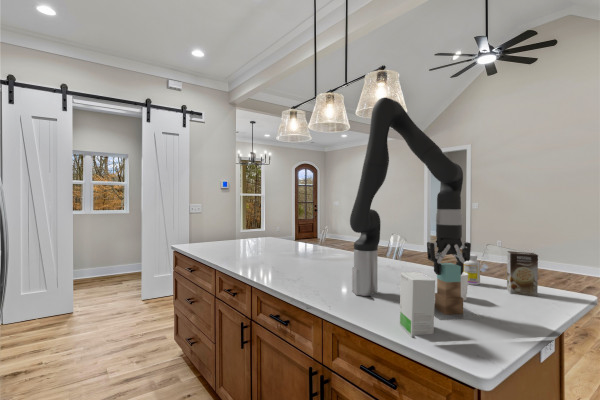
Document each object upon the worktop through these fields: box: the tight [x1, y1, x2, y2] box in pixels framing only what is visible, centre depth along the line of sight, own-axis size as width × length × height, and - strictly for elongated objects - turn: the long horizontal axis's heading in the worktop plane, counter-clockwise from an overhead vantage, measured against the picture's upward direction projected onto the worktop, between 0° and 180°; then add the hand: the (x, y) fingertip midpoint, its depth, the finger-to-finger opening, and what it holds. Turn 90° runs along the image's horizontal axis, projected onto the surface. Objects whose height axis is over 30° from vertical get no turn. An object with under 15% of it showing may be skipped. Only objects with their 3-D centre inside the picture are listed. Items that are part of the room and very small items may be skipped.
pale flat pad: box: [434, 303, 485, 321], centre depth 98 cm, size 14×14×1 cm
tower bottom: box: [434, 292, 464, 315], centre depth 98 cm, size 6×6×5 cm
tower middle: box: [436, 278, 461, 298], centre depth 98 cm, size 5×5×5 cm
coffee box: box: [506, 250, 539, 297], centre depth 121 cm, size 9×6×16 cm
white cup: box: [461, 272, 469, 301], centre depth 112 cm, size 8×8×10 cm
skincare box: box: [398, 271, 436, 338], centre depth 84 cm, size 8×7×16 cm
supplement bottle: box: [463, 253, 481, 286], centre depth 135 cm, size 7×7×13 cm
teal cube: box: [436, 262, 461, 282], centre depth 98 cm, size 5×5×5 cm
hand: (448, 274), depth 98 cm, fingers open, 6 cm apart
